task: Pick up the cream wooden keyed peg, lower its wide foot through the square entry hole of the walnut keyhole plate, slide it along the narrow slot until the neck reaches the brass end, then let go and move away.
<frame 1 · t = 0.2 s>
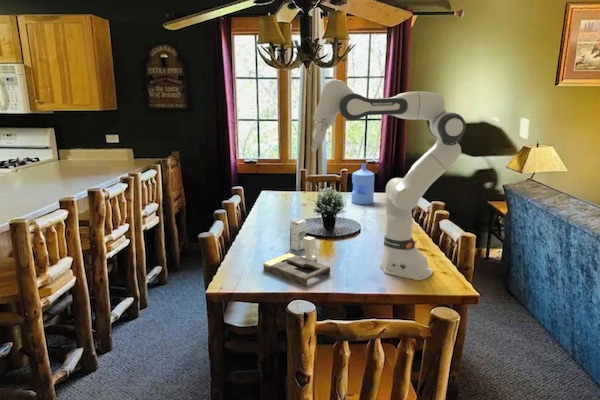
hand: (313, 150, 174), 51 cm above the table, tool tilted 20°, fingers open, 8 cm apart
keyed peg: (308, 260, 193), on the table
water jug: (362, 202, 300), on the table
keyhole plate: (296, 272, 179), on the table
syrup box: (297, 248, 208), on the table
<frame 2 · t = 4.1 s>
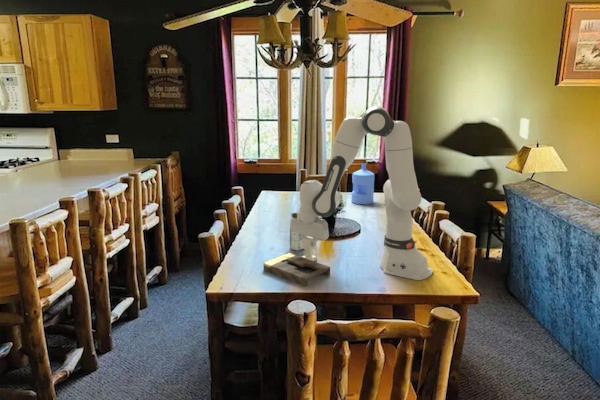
hand: (309, 244, 191), 7 cm above the table, tool pointing down, fingers closed on keyed peg, 4 cm apart
keyed peg: (308, 260, 193), on the table, touching gripper
everything else where it was.
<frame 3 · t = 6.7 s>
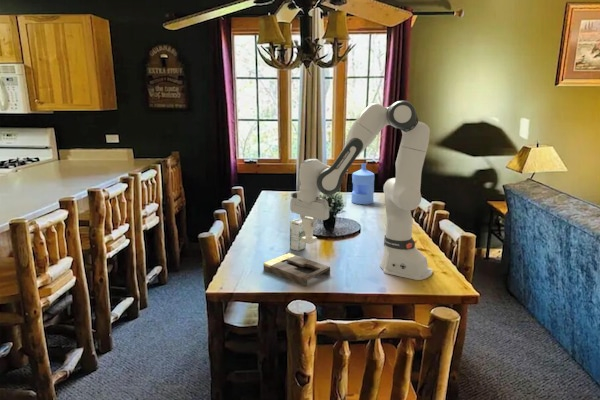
hand: (309, 225, 188), 17 cm above the table, tool pointing down, fingers closed on keyed peg, 4 cm apart
keyed peg: (309, 241, 189), point 10 cm above the table, touching gripper
everything else where it was.
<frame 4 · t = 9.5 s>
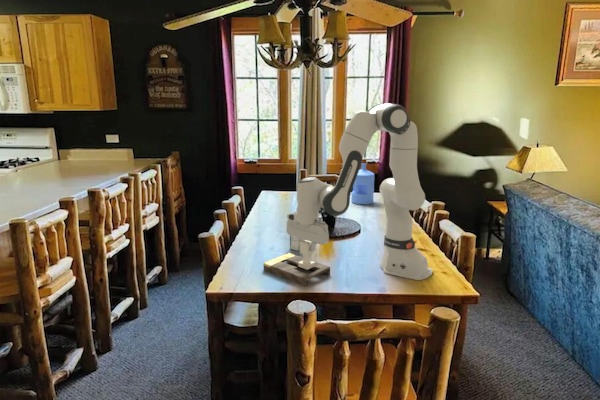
hand: (306, 249, 173), 12 cm above the table, tool pointing down, fingers closed on keyed peg, 4 cm apart
keyed peg: (306, 266, 174), point 4 cm above the table, touching gripper
everything else where it was.
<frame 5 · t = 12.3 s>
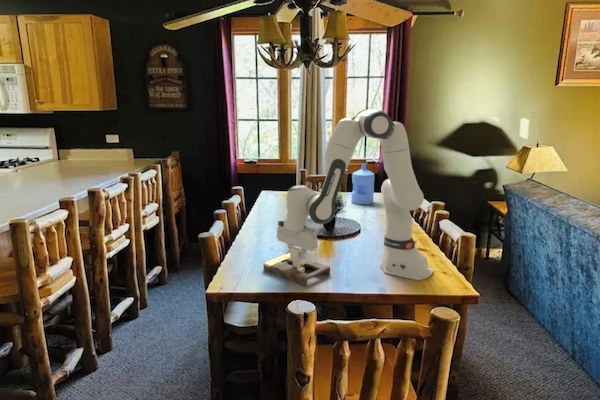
hand: (296, 255, 177), 8 cm above the table, tool pointing down, fingers closed on keyed peg, 4 cm apart
keyed peg: (296, 271, 179), on the table, touching gripper
everything else where it was.
when the fingers open (8 cm above the table, at t = 14.8 s): keyed peg stays where it is, on the table.
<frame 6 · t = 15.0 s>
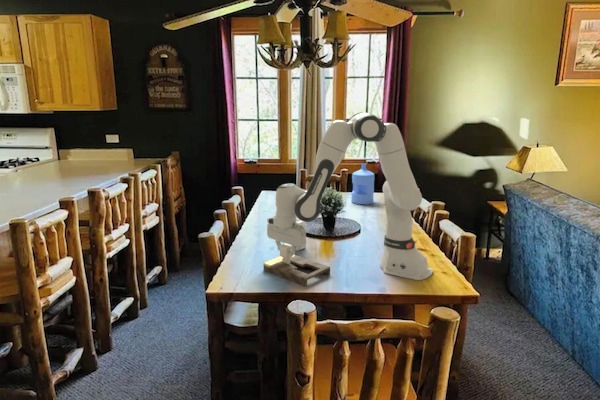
hand: (286, 251, 181), 8 cm above the table, tool pointing down, fingers open, 6 cm apart
keyed peg: (286, 268, 183), on the table
everything else where it was.
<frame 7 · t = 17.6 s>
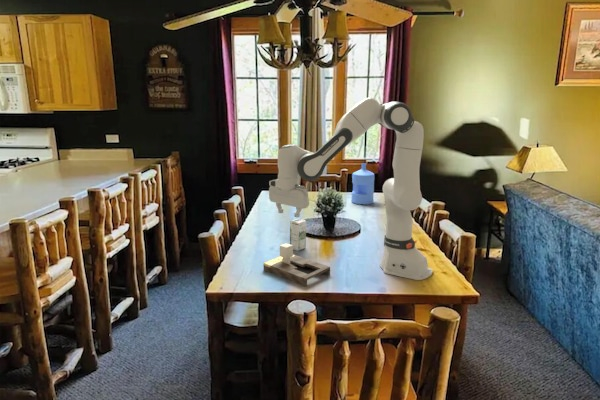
hand: (288, 214, 179), 24 cm above the table, tool pointing down, fingers open, 8 cm apart
nothing on the table moved.
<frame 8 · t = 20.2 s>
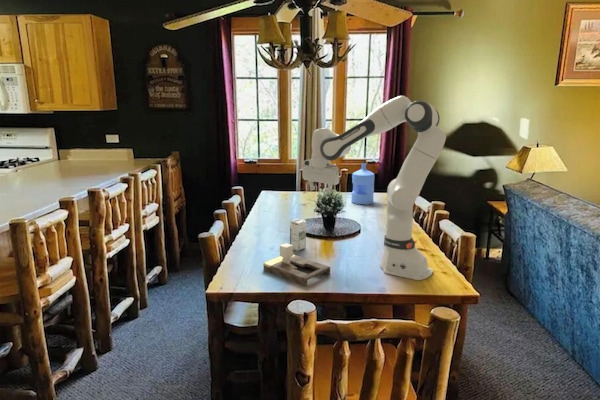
hand: (320, 191, 201), 29 cm above the table, tool pointing down, fingers open, 8 cm apart
nothing on the table moved.
at the end: keyed peg 0.2 cm from the target spot on the keyhole plate, point 0.0 cm above the keyhole plate's base; keyed peg tilted 0°; the gripper is holding nothing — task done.
